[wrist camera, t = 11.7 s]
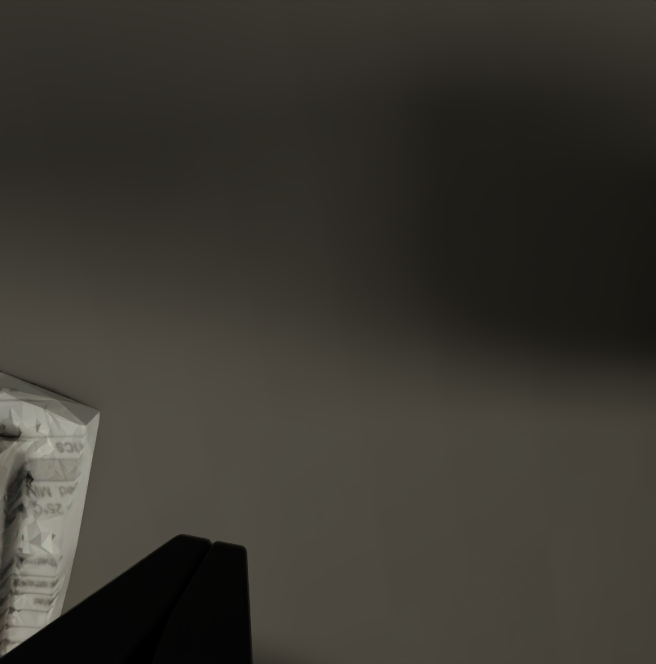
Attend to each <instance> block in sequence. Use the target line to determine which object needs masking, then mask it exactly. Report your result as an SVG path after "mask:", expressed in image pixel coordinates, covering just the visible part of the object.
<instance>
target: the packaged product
mask: <svg viewBox="0 0 656 664" xmlns="http://www.w3.org/2000/svg"><path fill="white" fill-rule="evenodd" d="M99 414H100V411H98V410H96V409H94V408H92V407H89V406H87V405H84V404H82V403H79V402H76V401H74V400H71V399H69V398H66V397H64V396H61V395H59V394H56V393H53V392H51V391H48V390H46V389H43V388H41V387H38V386H36V385H33V384H30V383H28V382H25V381H23V380H20V379H18V378H15V377H12V376H10V375H7V374H5V373H2V372H0V657H2V656H3V655H5V654H6V653H8V652H9V651H10V650H12V649H13V648H15V647H16V646H18V645H19V644H21V643H22V642H23V641H25V640H26V639H28V638H29V637H31V636H32V635H34V634H35V633H36V632H38V631H39V630H41V629H42V628H44V627H45V626H47V625H48V624H49V623H51V622H52V621H54V620H55V619H57V618H58V617H60V614H61V610H62V606H63V602H64V598H65V594H66V590H67V586H68V583H69V578H70V574H71V569H72V565H73V560H74V556H75V551H76V547H77V542H78V537H79V531H80V525H81V520H82V514H83V508H84V503H85V497H86V492H87V486H88V480H89V475H90V469H91V464H92V458H93V452H94V447H95V441H96V436H97V430H98V424H99Z"/></svg>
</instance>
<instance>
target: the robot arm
mask: <svg viewBox="0 0 656 664" xmlns="http://www.w3.org/2000/svg"><path fill="white" fill-rule="evenodd" d="M0 664H253V655H252V637H251V618H250V599H249V581H248V562H247V550H246V548H245V547H244V546H242V545H236V544H231V543H226V542H221V541H216V542H214V543H213V544H212V542H211V541H210V540H209V539H206V538H201V537H196V536H191V535H185V534H180V535H177V536H175V537H174V538H172V539H171V540H169V541H168V542H166V543H165V544H163V545H162V546H161V547H159V548H158V549H156V550H155V551H153V552H152V553H150V554H149V555H148V556H146V557H145V558H143V559H142V560H140V561H139V562H137V563H136V564H135V565H133V566H132V567H130V568H129V569H127V570H126V571H124V572H123V573H122V574H120V575H119V576H117V577H116V578H114V579H113V580H111V581H110V582H109V583H107V584H106V585H104V586H103V587H101V588H100V589H98V590H97V591H96V592H94V593H93V594H91V595H90V596H88V597H87V598H86V599H84V600H83V601H81V602H80V603H78V604H77V605H75V606H74V607H73V608H71V609H70V610H68V611H67V612H65V613H64V614H62V615H61V616H60V617H58V618H57V619H55V620H54V621H52V622H51V623H49V624H48V625H47V626H45V627H44V628H42V629H41V630H39V631H38V632H36V633H35V634H34V635H32V636H31V637H29V638H28V639H26V640H25V641H23V642H22V643H21V644H19V645H18V646H16V647H15V648H13V649H12V650H10V651H9V652H8V653H6V654H5V655H3V656H2V657H0Z"/></svg>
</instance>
